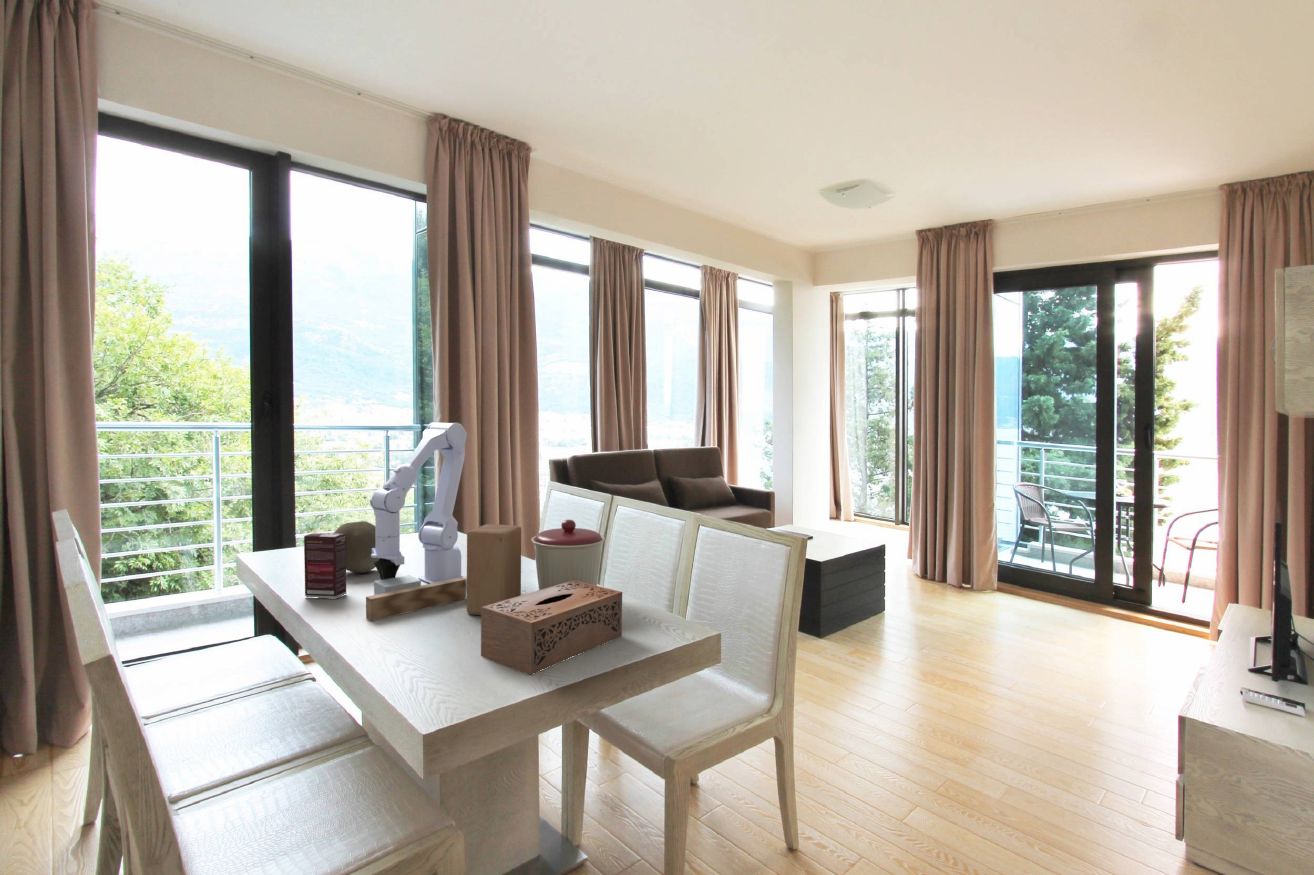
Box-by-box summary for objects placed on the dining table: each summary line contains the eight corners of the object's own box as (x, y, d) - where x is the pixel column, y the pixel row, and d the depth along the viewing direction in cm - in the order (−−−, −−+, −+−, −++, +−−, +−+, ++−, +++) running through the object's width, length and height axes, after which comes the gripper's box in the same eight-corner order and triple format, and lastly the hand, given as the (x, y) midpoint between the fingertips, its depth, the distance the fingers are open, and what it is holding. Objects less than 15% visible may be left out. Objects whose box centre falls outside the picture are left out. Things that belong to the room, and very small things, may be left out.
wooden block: (504, 618, 148) (505, 532, 147) (464, 615, 150) (465, 530, 149) (522, 605, 158) (522, 525, 157) (484, 602, 160) (485, 523, 159)
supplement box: (347, 594, 165) (347, 533, 164) (336, 600, 160) (335, 536, 159) (315, 592, 166) (315, 531, 165) (303, 598, 161) (303, 535, 160)
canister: (516, 602, 161) (517, 518, 160) (574, 588, 173) (575, 511, 172) (559, 620, 148) (560, 529, 147) (618, 604, 160) (620, 520, 159)
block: (409, 592, 168) (409, 575, 168) (420, 598, 163) (420, 580, 163) (374, 598, 162) (374, 581, 162) (385, 605, 157) (385, 587, 157)
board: (460, 596, 164) (460, 577, 164) (465, 598, 163) (466, 579, 162) (366, 618, 147) (365, 596, 147) (370, 621, 145) (370, 599, 145)
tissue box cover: (573, 623, 147) (573, 580, 146) (621, 637, 138) (622, 591, 138) (480, 657, 126) (481, 606, 126) (530, 676, 118) (531, 623, 117)
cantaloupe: (376, 564, 195) (375, 515, 195) (390, 574, 184) (390, 522, 184) (325, 571, 186) (324, 520, 186) (337, 582, 175) (337, 528, 175)
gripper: (359, 533, 167) (360, 584, 168) (384, 542, 157) (384, 596, 158) (386, 529, 172) (386, 579, 173) (412, 538, 162) (412, 591, 163)
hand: (387, 587), depth 166 cm, fingers closed
